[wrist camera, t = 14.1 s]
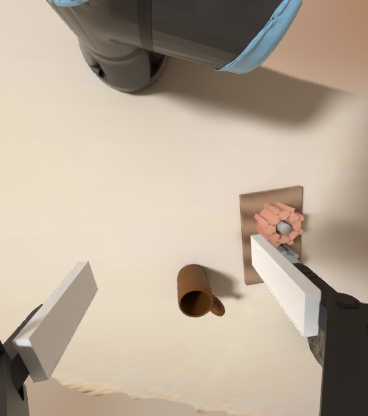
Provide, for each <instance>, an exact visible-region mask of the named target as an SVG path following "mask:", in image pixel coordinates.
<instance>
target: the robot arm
mask: <svg viewBox="0 0 368 416" xmlns="http://www.w3.org/2000/svg"><path fill="white" fill-rule="evenodd" d="M46 1H47V2H48V3H49V4H50V5H51V7H52V8H53V9H54V10H55V11H56V12H57V14H58V15H59V16H60V17H61V18H62V19H63V21H64V22H65V23H66V24H67V25H68V26H69V28H70V29H71V30H72V31H73V32H74V34H75V35H76V36H77V37H78V41H79V45H80V48H81V51H82V54H83V56H84V58H85V60H86V62H87V64H88V65H89V67H90V68H91V70H92V71H93V72H94V73H95V74H96V75H97V76H98V77H99V78H100V79H101V80H102V81H103V82H104V83H105V84H107V85H108V86H110V87H111V88H113V89H116V90H118V91H122V92H138V91H141V90H144V89H146V88H148V87H149V86H151V85H152V84H153V83H154V82H155V81H156V80H157V79H158V78H159V77H160V75H161V73H162V72H163V69H164V67H165V64H166V61H167V55H168V56H172V57H175V58H179V59H183V60H187V61H190V62H194V63H198V64H201V65H205V66H209V67H213V69H214V70H215V71H228V72H233V73H237V74H244V73H248V72H250V71H253V70H254V69H256V68H257V67H258V66H260V65H261V64H262V63H263V62H264V61H265V60H266V59H267V58H268V56H269V55H270V54H271V53H272V52H273V50H274V49H275V48H276V46H277V45H278V44H279V42H280V41H281V39H282V38H283V36H284V35H285V33H286V32H287V30H288V28H289V27H290V25H291V23H292V22H293V20H294V18H295V16H296V15H297V13H298V11H299V9H300V7H301V5H302V0H46ZM251 252H252V266H253V267H254V268H255V270H256V271H257V273H258V274H259V275H260V277H261V278H262V280H263V281H264V283H265V284H266V285H267V287H268V288H269V290H270V291H271V292H272V294H273V295H274V297H275V298H276V300H277V301H278V302H279V304H280V305H281V307H282V308H283V309H284V311H285V312H286V314H287V315H288V317H289V318H290V319H291V321H292V322H293V324H294V325H295V326H296V328H297V329H298V331H299V332H300V334H301V335H302V336H303V338H304V337H310V336H316V335H318V328H319V327H320V328H321V329H322V331H323V332H324V333H325V337H324V348H323V349H324V351H323V367H322V382H321V397H320V413H319V416H368V304H365V303H361V302H360V301H359V300H357V299H356V298H354V297H352V296H350V295H347V294H344V293H338V292H336V291H335V290H334V289H333V288H332V287H331V286H329V285H328V284H327V283H326V282H325V281H323V280H322V279H321V278H320V277H318V275H316V274H315V273H313V271H312V270H311V269H309V268H308V267H307V266H305V265H303V264H301V263H291V262H290V261H288V260H287V259H286V258H285V257H284V256H283V255H282V254H281V253H280V252H279V251H278V250H277V249H276V248H275V247H273V246H272V245H271V244H270V243H269V242H268V241H267V240H266V239H265V238H264V237H263V236H262V235H261V234H256V235H251ZM97 290H98V289H97V286H96V282H95V279H94V276H93V273H92V270H91V267H90V264H89V261H85V262H79V263H78V264H77V265H76V266H75V268H74V269H73V270H72V271H71V272H70V274H69V275H68V276H67V277H66V278H65V279H64V281H63V282H62V283H61V284H60V285H59V287H58V288H57V289H56V290H55V291H54V292H53V294H52V295H51V296H50V297H49V298H48V299H47V301H46V302H45V303H44V304H41V305H40V306H38V307H37V308H36V309H35V310H33V311H32V312H31V313H30V314H29V316H28V317H27V318H26V320H24V321H23V322H22V324H21V325H20V326H19V327H18V328H17V329H16V330H15V332H14V333H13V334H12V335H11V336H10V337H9V338H8V339H7V341H6V342H5V343H4V344H3V345H2V343H1V341H0V416H29V408H28V399H27V390H26V386H25V384H24V381H25V380H26V378H27V377H28V375H30V377H31V378H32V380H33V382H39V381H45V380H49V378H50V377H51V375H52V373H53V371H54V369H55V368H56V366H57V364H58V362H59V360H60V358H61V357H62V355H63V353H64V351H65V349H66V347H67V345H68V344H69V342H70V340H71V338H72V336H73V334H74V333H75V331H76V329H77V327H78V325H79V323H80V322H81V320H82V318H83V316H84V314H85V312H86V311H87V309H88V307H89V305H90V303H91V301H92V299H93V298H94V296H95V294H96V292H97Z"/></svg>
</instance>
